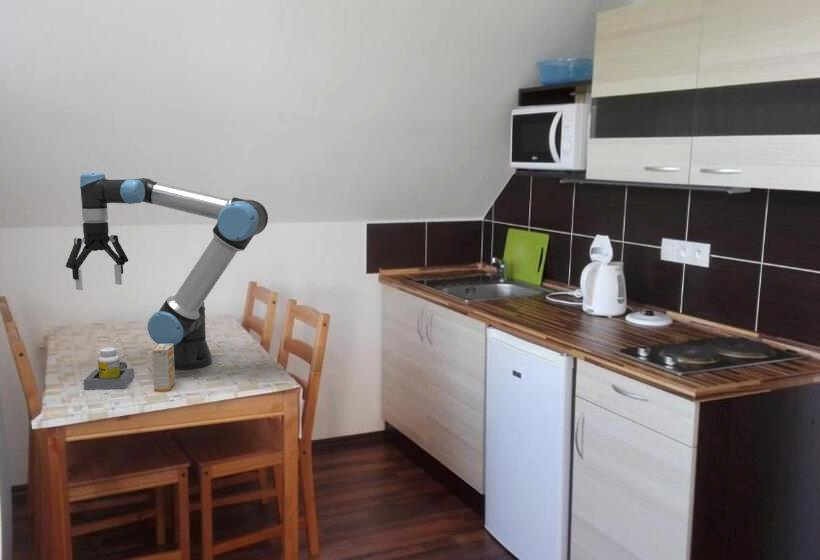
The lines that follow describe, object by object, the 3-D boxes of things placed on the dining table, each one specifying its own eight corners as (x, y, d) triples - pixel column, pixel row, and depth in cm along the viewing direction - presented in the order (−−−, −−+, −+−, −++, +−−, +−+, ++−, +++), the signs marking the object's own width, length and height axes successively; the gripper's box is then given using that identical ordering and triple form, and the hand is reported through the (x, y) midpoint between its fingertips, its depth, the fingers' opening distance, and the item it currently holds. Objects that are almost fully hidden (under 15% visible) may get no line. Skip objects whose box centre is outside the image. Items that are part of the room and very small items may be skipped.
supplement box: (169, 391, 228) (167, 349, 225) (153, 391, 227) (151, 349, 225) (176, 383, 236) (174, 342, 234) (160, 383, 235) (158, 343, 233)
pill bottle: (96, 382, 236) (94, 348, 234) (116, 379, 239) (114, 345, 238) (103, 387, 231) (101, 352, 229) (123, 383, 235) (121, 349, 233)
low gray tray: (125, 389, 230) (124, 379, 229) (84, 391, 228) (83, 380, 228) (141, 370, 251) (140, 360, 251) (103, 371, 250) (103, 361, 249)
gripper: (124, 218, 251) (127, 280, 255) (51, 223, 232) (55, 290, 235) (136, 219, 247) (140, 283, 250) (63, 224, 227) (68, 293, 231)
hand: (99, 286), depth 243 cm, fingers open, 13 cm apart
